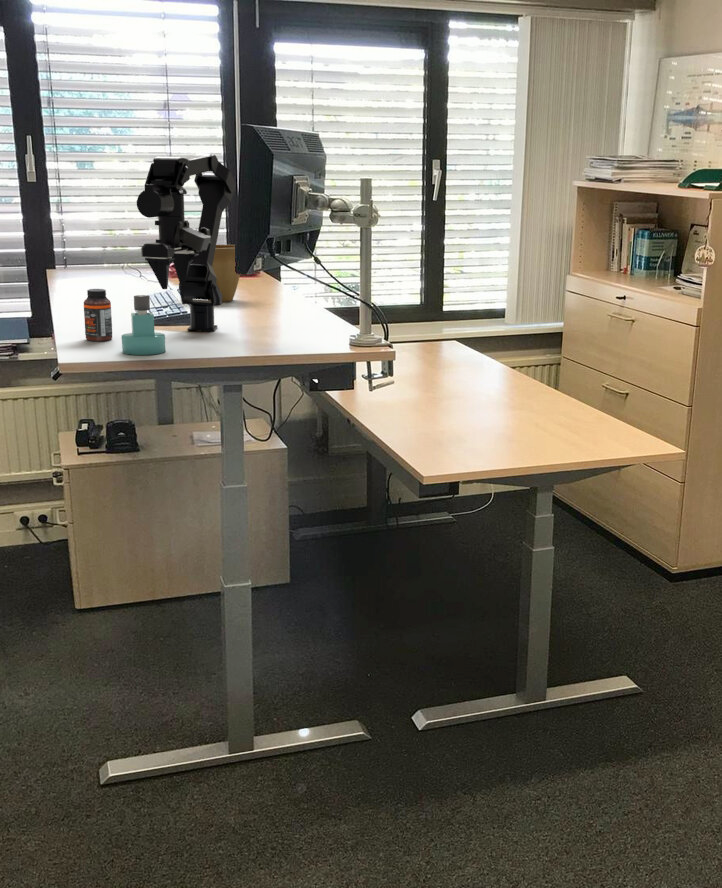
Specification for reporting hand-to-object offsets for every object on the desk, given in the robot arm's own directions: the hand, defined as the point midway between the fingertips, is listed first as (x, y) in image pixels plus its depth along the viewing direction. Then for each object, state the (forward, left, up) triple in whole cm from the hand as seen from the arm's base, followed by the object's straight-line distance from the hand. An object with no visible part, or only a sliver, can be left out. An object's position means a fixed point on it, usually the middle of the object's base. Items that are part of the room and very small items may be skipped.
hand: (173, 286), depth 208 cm
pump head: (+15, -4, -8) cm, 18 cm away
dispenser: (+15, -4, -12) cm, 20 cm away
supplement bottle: (+2, -17, -12) cm, 21 cm away
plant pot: (-66, +1, -12) cm, 67 cm away
